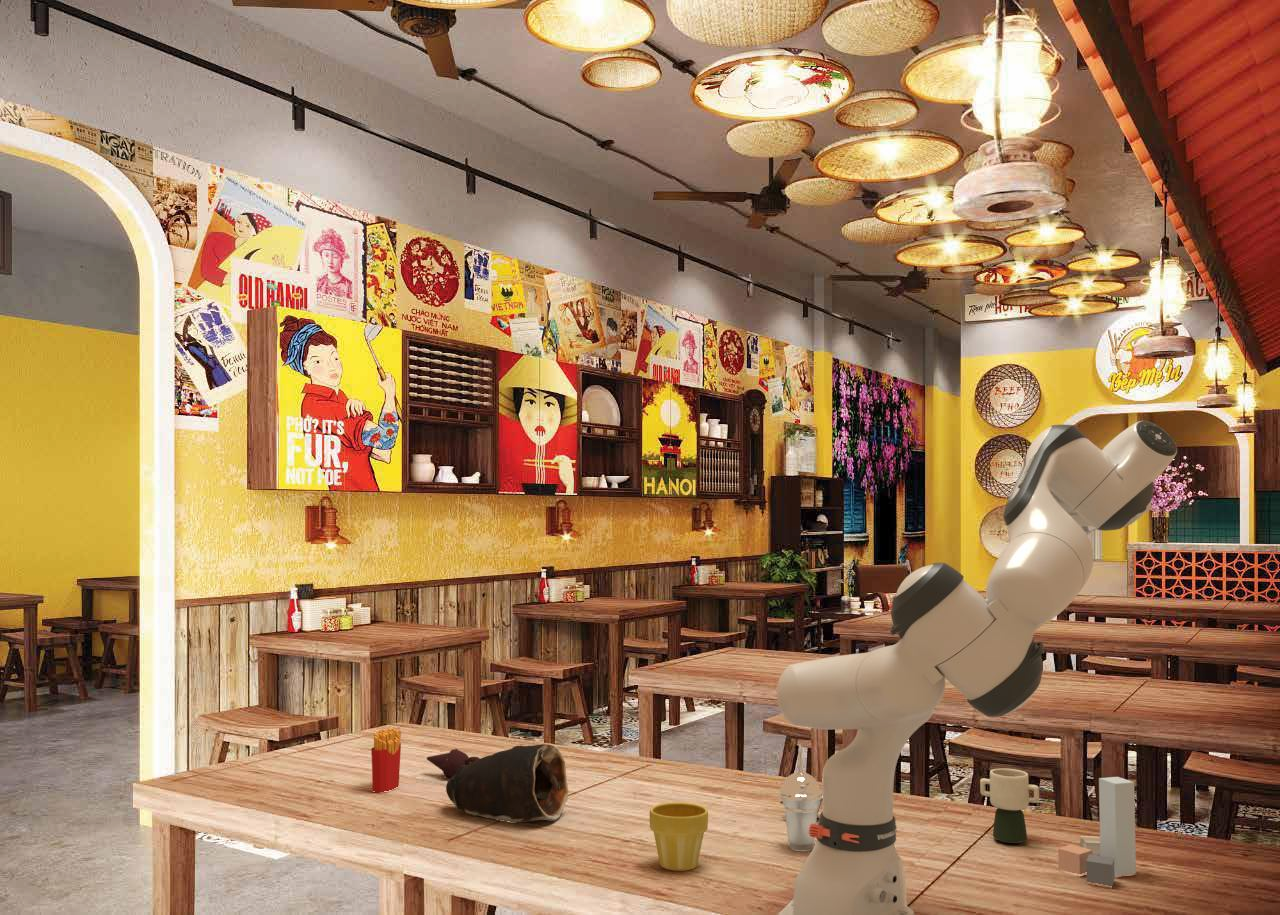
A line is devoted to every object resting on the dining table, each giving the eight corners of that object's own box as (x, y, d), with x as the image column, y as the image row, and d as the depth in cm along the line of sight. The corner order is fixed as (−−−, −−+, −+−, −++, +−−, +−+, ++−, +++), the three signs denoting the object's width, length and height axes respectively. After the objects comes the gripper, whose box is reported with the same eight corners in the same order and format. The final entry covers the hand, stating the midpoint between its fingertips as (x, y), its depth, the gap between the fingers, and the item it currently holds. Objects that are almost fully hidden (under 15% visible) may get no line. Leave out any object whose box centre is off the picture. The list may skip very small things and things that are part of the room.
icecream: (416, 751, 249) (471, 763, 243) (435, 737, 256) (488, 749, 250) (418, 778, 251) (472, 791, 245) (436, 764, 257) (489, 776, 251)
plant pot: (673, 851, 196) (673, 798, 197) (719, 863, 190) (719, 808, 190) (637, 866, 188) (637, 810, 189) (684, 879, 182) (684, 821, 182)
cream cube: (1109, 866, 189) (1109, 843, 190) (1086, 865, 190) (1085, 842, 190) (1103, 859, 193) (1102, 836, 194) (1080, 857, 194) (1079, 835, 194)
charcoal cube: (1112, 889, 178) (1112, 864, 178) (1086, 885, 180) (1086, 861, 180) (1114, 881, 181) (1114, 858, 182) (1089, 877, 183) (1088, 854, 184)
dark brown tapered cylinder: (458, 744, 232) (559, 731, 223) (473, 813, 232) (576, 803, 223) (421, 769, 218) (528, 756, 209) (438, 842, 218) (545, 832, 209)
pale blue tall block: (1136, 875, 184) (1134, 782, 185) (1116, 878, 183) (1115, 783, 184) (1119, 868, 188) (1117, 776, 189) (1100, 870, 187) (1098, 778, 188)
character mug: (1043, 841, 203) (1042, 772, 204) (1035, 851, 197) (1034, 780, 198) (985, 832, 209) (984, 765, 210) (976, 841, 203) (975, 772, 204)
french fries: (382, 794, 235) (383, 735, 236) (366, 792, 236) (367, 733, 237) (405, 784, 244) (406, 727, 244) (389, 783, 245) (390, 725, 246)
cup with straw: (833, 847, 199) (832, 739, 200) (806, 858, 192) (805, 746, 194) (794, 838, 205) (794, 732, 206) (767, 848, 198) (767, 740, 199)
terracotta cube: (1079, 878, 183) (1079, 854, 184) (1058, 871, 187) (1058, 848, 187) (1092, 873, 186) (1092, 850, 186) (1071, 867, 189) (1071, 844, 189)
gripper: (1049, 504, 171) (1008, 545, 182) (1161, 508, 175) (1114, 548, 186) (1038, 471, 174) (998, 513, 185) (1148, 476, 178) (1102, 516, 190)
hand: (1057, 530), depth 186 cm, fingers open, 8 cm apart
